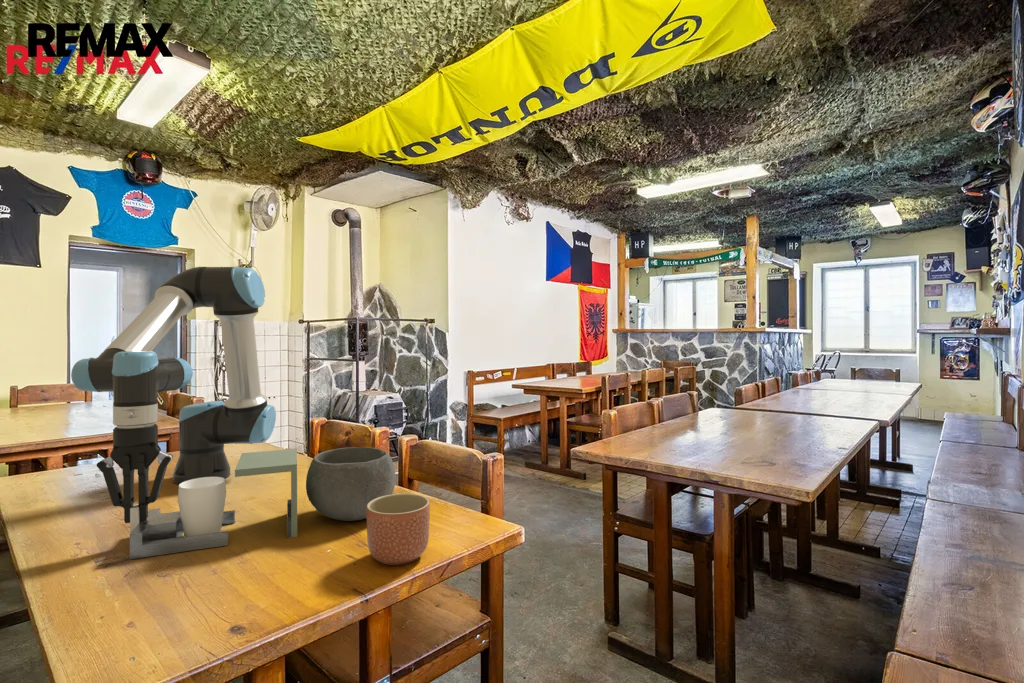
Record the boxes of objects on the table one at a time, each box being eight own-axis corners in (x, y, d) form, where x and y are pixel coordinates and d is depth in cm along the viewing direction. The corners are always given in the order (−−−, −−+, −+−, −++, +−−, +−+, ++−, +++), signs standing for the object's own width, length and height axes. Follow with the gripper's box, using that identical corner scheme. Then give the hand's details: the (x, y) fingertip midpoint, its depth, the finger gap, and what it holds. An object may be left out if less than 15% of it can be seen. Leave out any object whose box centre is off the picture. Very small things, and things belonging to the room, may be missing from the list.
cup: (203, 547, 105) (203, 489, 105) (167, 543, 107) (167, 487, 107) (235, 530, 114) (235, 477, 114) (201, 527, 116) (201, 475, 115)
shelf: (242, 519, 120) (241, 453, 120) (296, 512, 125) (296, 448, 125) (235, 545, 106) (234, 469, 105) (297, 536, 111) (297, 464, 110)
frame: (149, 531, 113) (149, 509, 113) (235, 520, 119) (234, 499, 119) (129, 559, 99) (129, 534, 99) (227, 545, 106) (227, 521, 106)
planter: (352, 565, 97) (352, 509, 97) (390, 540, 109) (390, 490, 108) (408, 576, 93) (408, 517, 92) (441, 549, 104) (441, 497, 104)
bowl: (291, 515, 123) (290, 454, 123) (367, 495, 139) (367, 441, 138) (333, 539, 109) (332, 470, 109) (412, 514, 124) (412, 454, 124)
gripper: (90, 430, 99) (91, 549, 99) (168, 426, 104) (168, 539, 105) (103, 423, 106) (104, 535, 106) (176, 420, 111) (176, 526, 111)
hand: (136, 536), depth 105 cm, fingers closed
